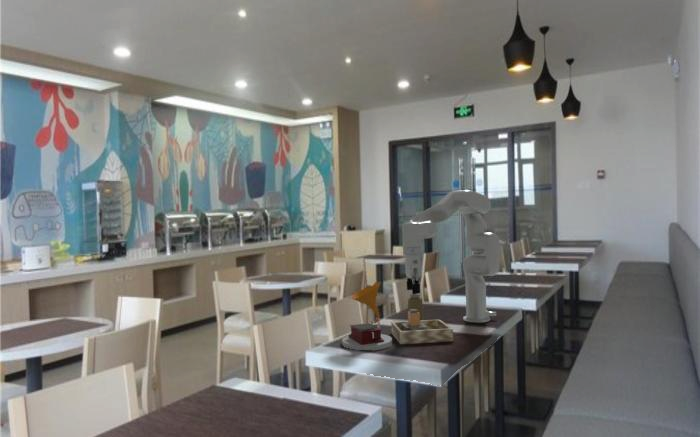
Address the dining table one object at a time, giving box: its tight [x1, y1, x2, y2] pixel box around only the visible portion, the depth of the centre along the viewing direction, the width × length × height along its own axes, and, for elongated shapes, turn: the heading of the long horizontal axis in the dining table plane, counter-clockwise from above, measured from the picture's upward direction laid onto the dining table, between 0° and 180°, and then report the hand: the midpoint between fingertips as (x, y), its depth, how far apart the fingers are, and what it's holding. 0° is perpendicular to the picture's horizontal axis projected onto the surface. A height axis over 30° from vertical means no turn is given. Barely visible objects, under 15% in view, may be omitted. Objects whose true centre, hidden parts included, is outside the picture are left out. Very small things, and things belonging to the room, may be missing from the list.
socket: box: [401, 322, 427, 331], centre depth 206 cm, size 9×9×4 cm
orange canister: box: [407, 309, 420, 327], centre depth 206 cm, size 4×4×11 cm
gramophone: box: [341, 281, 393, 351], centre depth 199 cm, size 20×20×25 cm
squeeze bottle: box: [406, 292, 425, 321], centre depth 232 cm, size 8×8×18 cm
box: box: [390, 319, 454, 345], centre depth 207 cm, size 22×18×5 cm
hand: (413, 291), depth 206 cm, fingers open, 9 cm apart
